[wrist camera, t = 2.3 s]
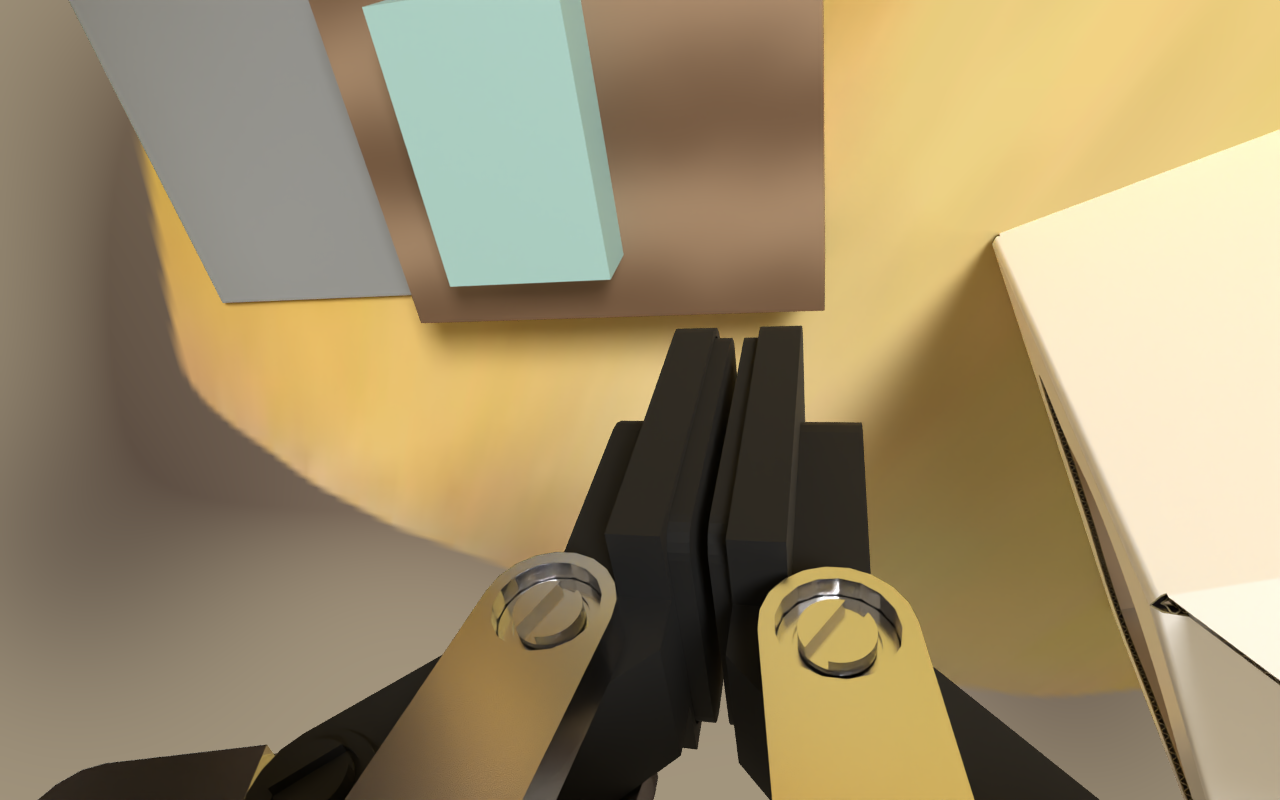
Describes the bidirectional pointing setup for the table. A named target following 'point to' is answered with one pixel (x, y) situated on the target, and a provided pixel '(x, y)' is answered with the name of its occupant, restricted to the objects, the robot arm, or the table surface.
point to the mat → (249, 143)
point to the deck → (647, 162)
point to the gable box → (1175, 439)
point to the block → (502, 136)
